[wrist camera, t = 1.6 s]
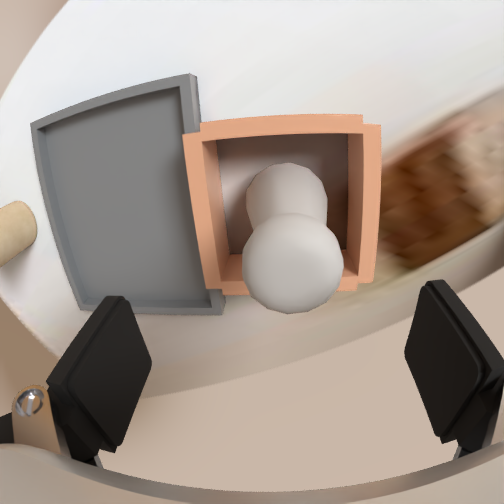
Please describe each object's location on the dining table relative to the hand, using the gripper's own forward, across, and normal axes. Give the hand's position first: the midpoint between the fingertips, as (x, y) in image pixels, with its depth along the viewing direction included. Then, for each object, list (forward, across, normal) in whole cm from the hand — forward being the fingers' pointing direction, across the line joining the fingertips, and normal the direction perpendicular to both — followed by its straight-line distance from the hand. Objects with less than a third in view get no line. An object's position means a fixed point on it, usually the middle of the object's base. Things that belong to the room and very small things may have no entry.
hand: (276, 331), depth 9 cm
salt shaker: (+16, -1, 0) cm, 16 cm away
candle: (+17, +28, 0) cm, 33 cm away
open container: (+16, -1, 0) cm, 16 cm away
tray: (+16, +13, 0) cm, 21 cm away
